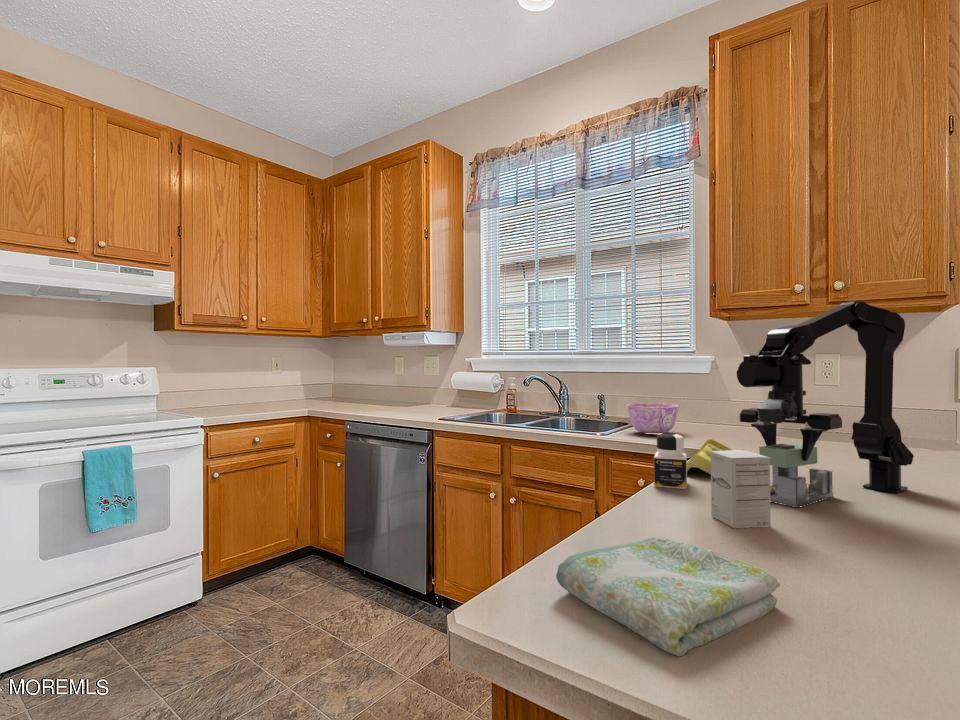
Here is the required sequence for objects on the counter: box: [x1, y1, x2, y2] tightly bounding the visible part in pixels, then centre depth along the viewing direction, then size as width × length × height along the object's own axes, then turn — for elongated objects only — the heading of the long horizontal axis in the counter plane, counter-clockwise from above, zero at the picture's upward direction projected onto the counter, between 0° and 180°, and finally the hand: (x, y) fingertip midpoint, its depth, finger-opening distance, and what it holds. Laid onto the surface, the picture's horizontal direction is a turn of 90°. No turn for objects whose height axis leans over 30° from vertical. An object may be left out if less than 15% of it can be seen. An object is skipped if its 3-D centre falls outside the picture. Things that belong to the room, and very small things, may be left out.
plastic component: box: [687, 438, 733, 475], centre depth 139 cm, size 20×7×10 cm
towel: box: [555, 537, 781, 657], centre depth 64 cm, size 18×21×5 cm
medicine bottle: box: [653, 433, 688, 490], centre depth 124 cm, size 7×7×12 cm
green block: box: [758, 442, 818, 468], centre depth 112 cm, size 10×6×4 cm, turn 114°
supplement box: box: [710, 449, 772, 529], centre depth 95 cm, size 7×7×13 cm
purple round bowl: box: [626, 402, 680, 434], centre depth 209 cm, size 20×20×12 cm
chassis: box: [770, 465, 834, 508], centre depth 112 cm, size 15×11×6 cm
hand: (788, 458), depth 112 cm, fingers closed on green block, 6 cm apart
